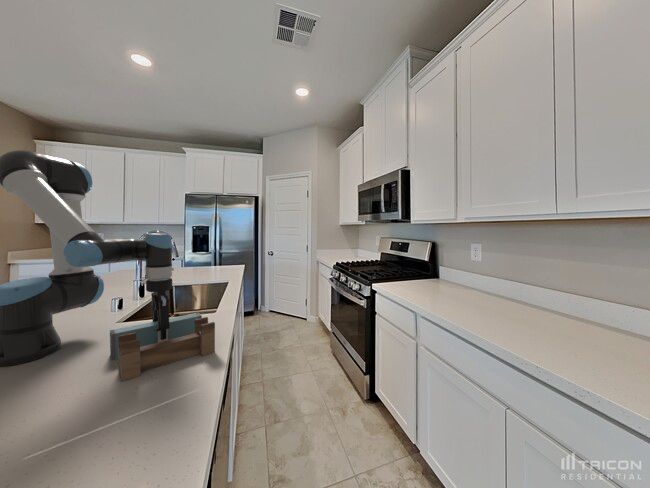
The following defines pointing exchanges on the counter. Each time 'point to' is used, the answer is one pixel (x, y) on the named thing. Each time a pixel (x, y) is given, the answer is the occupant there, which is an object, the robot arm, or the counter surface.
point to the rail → (154, 332)
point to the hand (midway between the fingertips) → (160, 344)
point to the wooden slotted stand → (163, 349)
